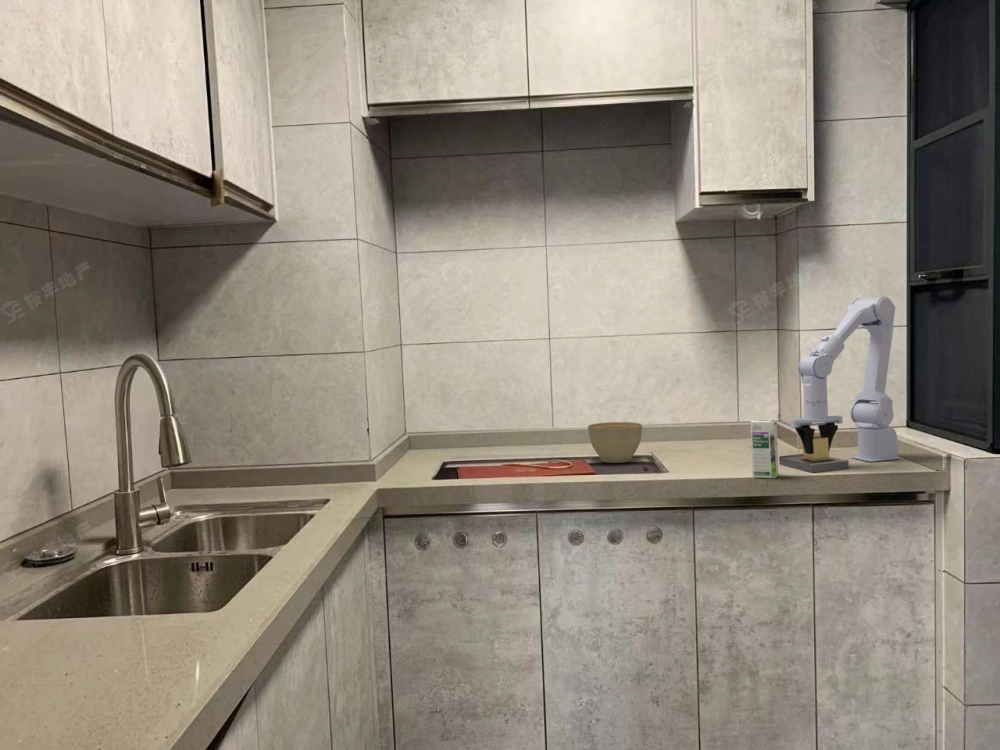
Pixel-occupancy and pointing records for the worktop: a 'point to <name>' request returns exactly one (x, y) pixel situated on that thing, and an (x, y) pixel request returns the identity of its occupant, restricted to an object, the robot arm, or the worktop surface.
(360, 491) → the worktop surface
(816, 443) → the block
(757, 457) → the syrup box
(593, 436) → the planter bowl
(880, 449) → the robot arm
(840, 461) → the rail plate
